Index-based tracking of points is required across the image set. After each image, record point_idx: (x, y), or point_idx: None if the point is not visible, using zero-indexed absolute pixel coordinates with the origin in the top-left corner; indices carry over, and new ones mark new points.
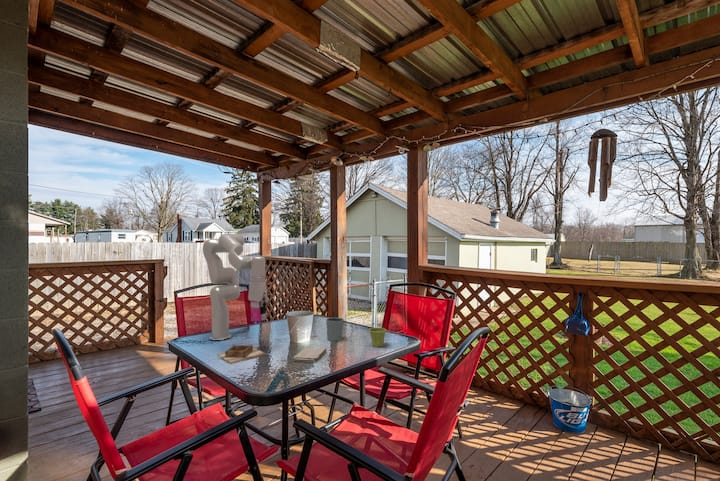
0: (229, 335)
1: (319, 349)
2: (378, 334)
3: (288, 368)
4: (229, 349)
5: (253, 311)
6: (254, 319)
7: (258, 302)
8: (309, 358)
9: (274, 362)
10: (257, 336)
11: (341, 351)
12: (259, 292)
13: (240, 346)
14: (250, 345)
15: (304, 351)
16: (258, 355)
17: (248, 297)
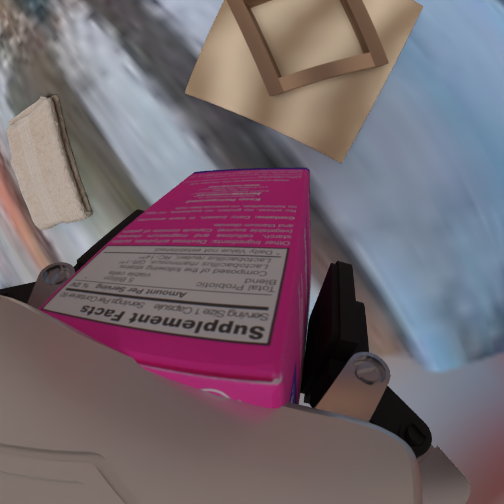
0: None
1: (37, 207)
2: None
3: (40, 43)
4: None
5: (242, 211)
6: (252, 174)
7: (53, 307)
8: (16, 123)
9: (100, 48)
10: (412, 331)
11: (28, 241)
12: None
13: (335, 61)
14: (279, 87)
15: (51, 167)
16: (199, 57)
17: (420, 497)
